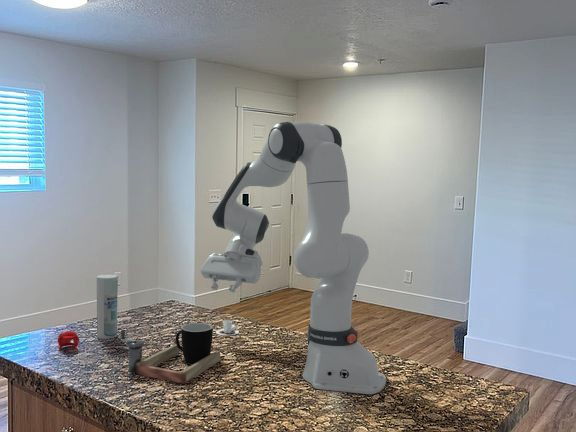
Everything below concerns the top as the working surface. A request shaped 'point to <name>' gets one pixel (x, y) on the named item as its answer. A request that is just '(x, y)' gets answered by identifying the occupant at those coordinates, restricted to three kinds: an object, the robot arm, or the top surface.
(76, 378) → the top surface
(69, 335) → the cap
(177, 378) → the bay
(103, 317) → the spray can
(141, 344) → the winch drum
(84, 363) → the top surface
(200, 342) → the mug
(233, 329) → the teacup and saucer
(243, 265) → the robot arm
